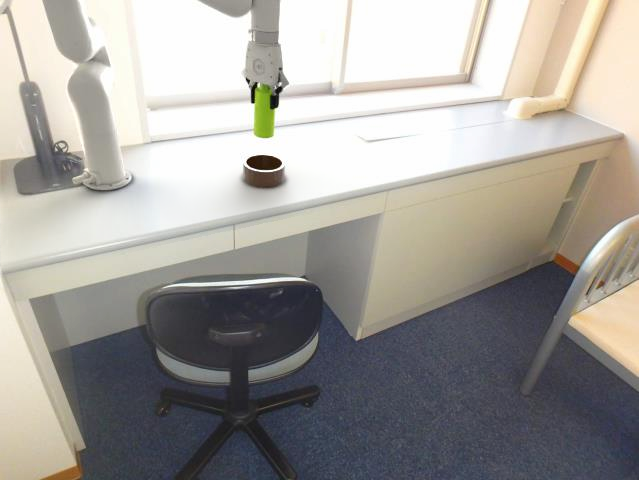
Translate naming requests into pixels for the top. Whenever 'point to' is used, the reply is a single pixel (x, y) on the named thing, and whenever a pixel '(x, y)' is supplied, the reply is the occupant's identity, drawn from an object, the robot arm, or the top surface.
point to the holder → (263, 170)
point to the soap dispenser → (263, 112)
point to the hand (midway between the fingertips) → (264, 104)
